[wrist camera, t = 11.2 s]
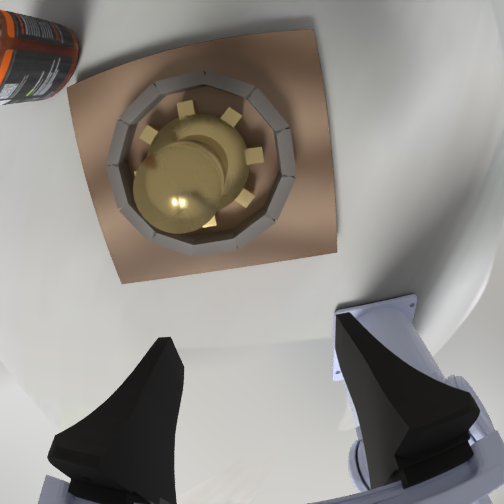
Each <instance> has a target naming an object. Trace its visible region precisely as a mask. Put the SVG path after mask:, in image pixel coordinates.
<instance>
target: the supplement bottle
mask: <svg viewBox="0 0 504 504" xmlns="http://www.w3.org/2000/svg"><path fill="white" fill-rule="evenodd" d="M78 53H79V45H78V41H77V38H76V36H75V35H74V33H73V32H72V31H71V30H70V29H69V28H67V27H64V26H62V25H60V24H56V23H53V22H49V21H46V20H42V19H38V18H34V17H31V16H26V15H22V14H18V13H14V12H9V11H3V10H0V105H5V104H13V103H20V102H29V101H38V100H44V99H47V98H50V97H52V96H54V95H55V94H56V93H58V92H59V91H60V90H61V89H62V88H63V87H64V86H65V85H66V84H67V82H68V81H69V79H70V78H71V76H72V74H73V72H74V70H75V67H76V64H77V60H78Z"/></svg>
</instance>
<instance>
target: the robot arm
mask: <svg viewBox="0 0 504 504" xmlns="http://www.w3.org/2000/svg"><path fill="white" fill-rule="evenodd" d="M416 304H417V296H416V295H415V294H411V295H407V296H403V297H398V298H394V299H389V300H385V301H380V302H376V303H371V304H366V305H361V306H356V307H351V308H346V309H341V310H338V311H336V312H335V314H334V348H333V370H332V378H333V380H334V381H339V380H343V383H344V386H345V389H346V392H347V395H348V399H349V402H350V405H351V409H352V412H353V415H354V419H355V421H356V424H357V425H358V427H357V428H356V432H357V436H358V439H359V440H357V441H355V442H354V443H353V444H352V446H351V448H350V452H349V459H348V469H349V474H350V477H351V480H352V482H353V484H354V486H355V488H356V489H357V491H358V492H359V493H357V494H353V495H349V496H345V497H340V498H336V499H331V500H326V501H321V502H315V503H309V504H492V502H491V500H490V498H489V496H488V494H490V493H491V492H493V491H494V490H496V489H497V488H499V487H500V486H502V485H503V484H504V443H503V441H502V439H501V437H500V435H499V433H498V431H496V430H495V429H494V427H493V424H492V422H491V419H490V417H489V415H488V413H487V412H486V409H485V408H484V406H483V404H482V403H481V401H480V399H479V398H478V396H477V395H476V393H475V392H474V390H473V389H472V387H471V386H470V385H469V383H468V382H467V381H466V380H465V379H464V378H463V377H461V376H454V375H450V376H449V377H448V378H447V379H445V378H444V376H443V374H442V372H441V371H440V369H439V367H438V365H437V364H436V362H435V360H434V359H433V357H432V355H431V354H430V352H429V350H428V349H427V347H426V345H425V344H424V342H423V341H422V339H421V337H420V336H419V334H418V333H417V331H416V330H415V328H414V326H413V325H412V323H413V319H414V314H415V309H416ZM183 381H184V366H183V363H182V361H181V359H180V357H179V355H178V353H177V350H176V348H175V346H174V343H173V341H172V339H171V337H162V338H158V339H157V340H156V341H155V343H154V344H153V345H152V347H151V348H150V349H149V351H148V352H147V353H146V355H145V356H144V357H143V359H142V360H141V361H140V363H139V364H138V365H137V367H136V368H135V369H134V371H133V372H132V373H131V374H130V375H129V376H128V378H127V379H126V380H125V381H124V382H123V384H122V385H121V386H120V387H119V388H118V389H117V390H116V391H115V392H114V393H113V394H112V395H111V396H110V397H109V398H108V399H107V400H106V401H105V402H104V403H103V404H102V405H100V406H99V407H98V408H97V409H96V410H94V411H93V412H92V413H91V414H89V415H88V416H87V417H85V418H84V419H82V420H81V421H79V422H78V423H76V424H75V425H73V426H72V427H70V428H68V429H66V430H64V431H63V432H61V433H59V434H57V435H55V437H54V440H53V442H52V445H51V448H50V451H49V454H48V457H47V458H48V460H49V462H50V463H51V464H52V465H53V466H55V467H56V468H57V469H59V470H60V471H61V472H63V473H64V474H65V475H67V476H68V477H70V478H71V482H70V483H68V482H66V481H63V480H60V479H57V478H55V477H52V476H49V475H46V477H45V481H44V484H43V487H42V491H41V494H40V498H39V501H38V504H177V502H176V492H175V478H174V476H175V475H174V447H175V431H176V424H177V419H178V413H179V407H180V402H181V397H182V391H183V383H184V382H183Z"/></svg>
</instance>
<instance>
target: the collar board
mask: <svg viewBox="0 0 504 504" xmlns="http://www.w3.org/2000/svg"><path fill="white" fill-rule="evenodd" d="M67 93H68V99H69V105H70V111H71V116H72V121H73V126H74V131H75V136H76V140H77V145H78V149H79V153H80V158H81V162H82V166H83V169H84V173H85V177H86V181H87V184H88V188H89V191H90V195H91V198H92V201H93V205H94V208H95V211H96V214H97V217H98V220H99V223H100V226H101V229H102V232H103V235H104V238H105V241H106V244H107V247H108V249H109V252H110V255H111V257H112V260H113V263H114V265H115V268H116V271H117V273H118V276H119V278H120V281H121V283H122V284H126V283H134V282H141V281H148V280H156V279H163V278H170V277H177V276H184V275H191V274H198V273H205V272H212V271H219V270H226V269H233V268H239V267H246V266H253V265H259V264H266V263H273V262H279V261H286V260H292V259H299V258H305V257H311V256H318V255H324V254H330V253H337V229H336V208H335V191H334V177H333V165H332V154H331V143H330V134H329V125H328V116H327V108H326V101H325V94H324V87H323V80H322V74H321V67H320V61H319V55H318V50H317V44H316V39H315V34H314V30H294V31H278V32H267V33H258V34H249V35H242V36H235V37H229V38H223V39H217V40H212V41H206V42H202V43H197V44H192V45H188V46H184V47H180V48H176V49H172V50H168V51H164V52H161V53H157V54H154V55H150V56H147V57H144V58H141V59H138V60H135V61H132V62H129V63H126V64H123V65H120V66H117V67H115V68H112V69H109V70H107V71H104V72H102V73H99V74H97V75H94V76H92V77H89V78H87V79H85V80H83V81H80V82H78V83H76V84H74V85H72V86H69V87H67ZM189 100H195V101H196V106H197V111H198V114H210V115H214V116H217V117H220V118H221V117H222V115H223V114H224V113H225V111H226V110H227V109H228V108H229V107H231V108H232V109H234V110H235V111H237V112H238V113H239V114H241V115H242V117H241V118H240V120H239V121H238V122H237V124H236V125H235V126H234V127H235V128H236V129H237V130H238V131H239V133H240V134H241V135H242V137H243V139H244V141H245V143H246V146H254V145H261V146H262V150H263V157H264V162H262V163H255V164H249V174H248V178H247V181H246V184H245V185H247V186H248V187H250V188H251V189H253V190H254V191H255V197H254V198H253V200H252V201H251V202H250V204H249V205H248V206H247V207H246V208H245V207H244V206H242V205H241V204H239V203H238V202H236V201H235V200H234V201H233V202H232V203H231V204H229V205H228V206H226V207H225V208H223V209H221V210H219V211H217V216H218V221H217V225H216V226H210V227H204V228H202V227H201V228H199V229H197V230H195V231H192V232H189V233H183V234H174V233H168V232H165V231H162V230H160V229H158V228H156V227H154V226H153V225H151V224H150V223H149V222H148V221H147V220H146V219H145V218H144V217H143V216H142V215H141V213H140V211H139V210H138V208H137V206H136V203H135V200H134V195H133V183H134V178H135V174H134V171H136V170H138V168H139V166H140V165H141V163H142V162H143V161H144V160H145V159H146V158H147V154H148V150H149V147H150V144H148V143H146V142H145V141H143V140H142V139H140V138H139V137H140V135H141V134H142V132H143V130H144V129H145V127H146V125H148V124H154V125H156V126H158V127H159V128H161V129H162V128H163V127H164V126H165V125H166V124H168V123H169V122H171V121H172V120H174V119H177V118H179V114H178V109H177V103H180V102H185V101H189Z"/></svg>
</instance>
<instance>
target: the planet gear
mask: <svg viewBox="0 0 504 504" xmlns="http://www.w3.org/2000/svg"><path fill="white" fill-rule="evenodd" d="M177 109H178V114H179V118H177V119H174V120H172V121H171V122H169V123H168V124H166V125H165V126H164V127H163V128H162V129H161V128H159V127H158V126H156V125H154V124H148V125H146V127H145V129H144V130H143V132H142V134H141V135H140V137H139V138H140V139H142V140H143V141H145V142H146V143H148V144H150V147H149V150H148V154H147V158H146V159H145V160H144V161H143V162H142V163H141V165H140V166H139V168H138V170H136V171H134V174H135V178H134V183H133V195H134V200H135V203H136V206H137V208H138V210H139V211H140V213H141V215H142V216H143V217H144V218H145V219H146V220H147V221H148V222H149V223H150V224H151V225H153V226H154V227H156V228H158V229H160V230H162V231H165V232H168V233H174V234H183V233H189V232H192V231H195V230H197V229H199V228H201V227H202V228H204V227H210V226H216V225H217V221H218V216H217V211H219V210H221V209H223V208H225V207H226V206H228V205H229V204H231V203H232V202H233V201H234V200H235V201H236V202H238V203H239V204H241V205H242V206H244V207H245V208H246V207H247V206H248V205H249V204H250V202H251V201H252V200H253V198H254V197H255V191H254V190H253V189H251V188H250V187H248V186H247V185H245V184H246V181H247V178H248V174H249V164H255V163H262V162H264V157H263V150H262V146H261V145H254V146H246V143H245V141H244V139H243V137H242V135H241V134H240V133H239V131H238V130H237V129H236V128H235V127H234V126H235V125H236V124H237V122H238V121H239V120H240V118H241V117H242V115H241V114H239V113H238V112H237V111H235V110H234V109H232V108H231V107H229V108H228V109H227V110H226V111H225V113H224V114H223V115H222V117H221V118H220V117H217V116H214V115H210V114H198V111H197V106H196V101H195V100H189V101H185V102H180V103H177Z"/></svg>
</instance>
